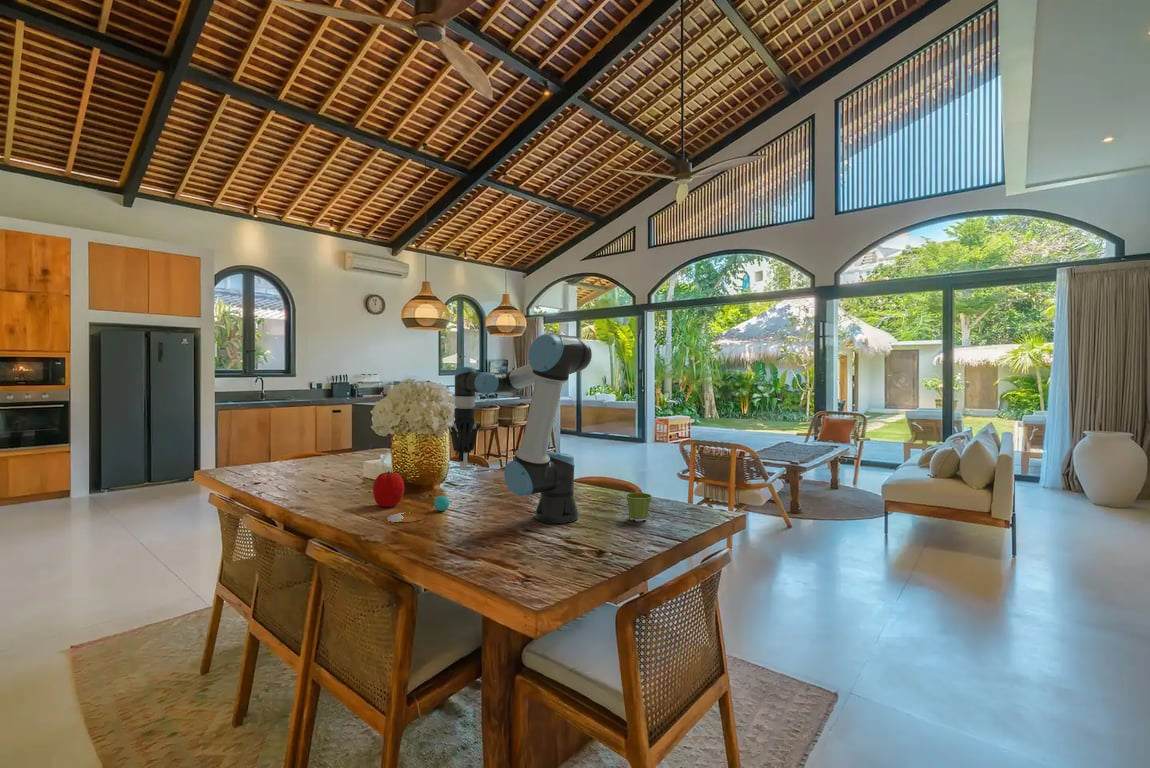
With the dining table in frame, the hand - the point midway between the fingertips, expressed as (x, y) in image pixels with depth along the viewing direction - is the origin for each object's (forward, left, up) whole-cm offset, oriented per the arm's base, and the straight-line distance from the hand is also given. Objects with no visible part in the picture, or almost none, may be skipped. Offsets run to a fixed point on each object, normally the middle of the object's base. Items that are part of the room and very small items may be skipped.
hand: (463, 469), depth 202 cm
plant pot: (-66, 0, -14) cm, 68 cm away
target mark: (+12, +21, -14) cm, 27 cm away
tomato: (+27, +8, -14) cm, 31 cm away
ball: (+5, +8, -11) cm, 15 cm away
